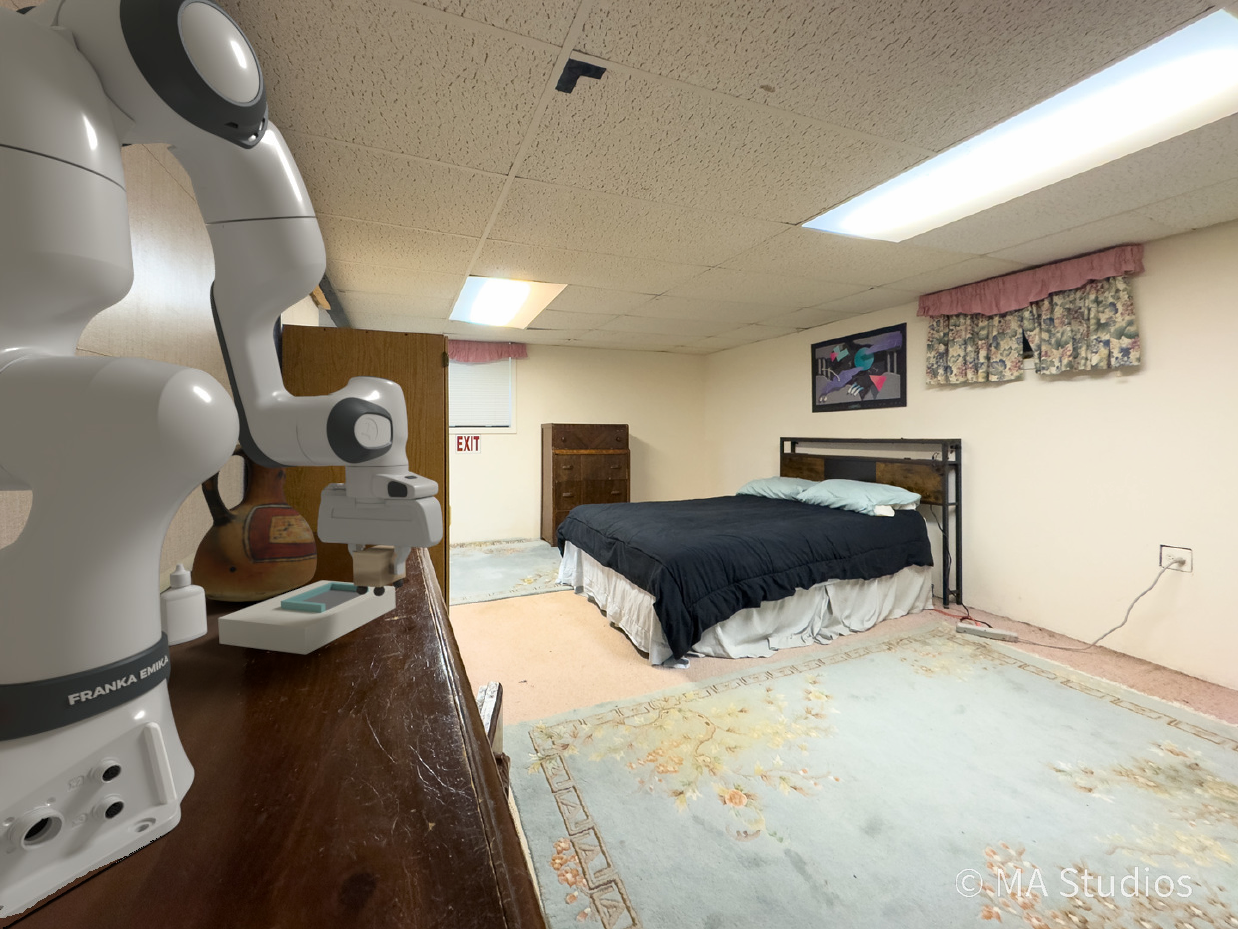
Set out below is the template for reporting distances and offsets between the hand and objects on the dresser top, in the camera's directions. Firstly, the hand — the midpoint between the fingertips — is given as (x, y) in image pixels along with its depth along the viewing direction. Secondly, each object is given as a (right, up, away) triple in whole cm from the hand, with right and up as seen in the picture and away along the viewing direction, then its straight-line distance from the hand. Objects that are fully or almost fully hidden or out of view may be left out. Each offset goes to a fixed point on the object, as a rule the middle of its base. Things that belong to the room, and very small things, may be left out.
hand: (380, 572), depth 80 cm
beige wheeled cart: (0, -3, 0) cm, 3 cm away
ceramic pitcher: (-34, -9, +22) cm, 41 cm away
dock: (-14, -10, +7) cm, 19 cm away
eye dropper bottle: (-31, -11, +1) cm, 33 cm away
